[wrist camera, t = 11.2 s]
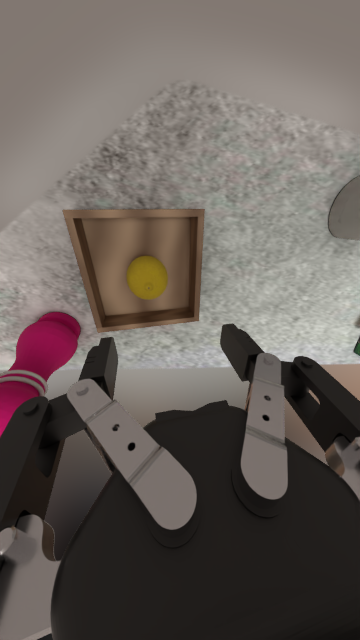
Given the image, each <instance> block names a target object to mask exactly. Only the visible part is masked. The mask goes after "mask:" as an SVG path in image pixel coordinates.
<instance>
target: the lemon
mask: <svg viewBox="0 0 360 640" xmlns="http://www.w3.org/2000/svg"><path fill="white" fill-rule="evenodd" d="M126 279H127V284H128V286H129V288H130V290H131V291H132V292H133V293H134V294H135V295H136V296H137V297H139V298H142V299H146V300H150V299H155V298H157V297H159V296H160V295H161V294H162V293H163V292H164V291H165V289H166V287H167V284H168V274H167V270H166V268H165V266H164V265H163V264H162V262H161V261H159V260H158V259H157V258H154V257H152V256H140V257H138V258H136V259H135V260H133V261H132V262H131V264H130V265H129V267H128V270H127V275H126Z"/></svg>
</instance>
